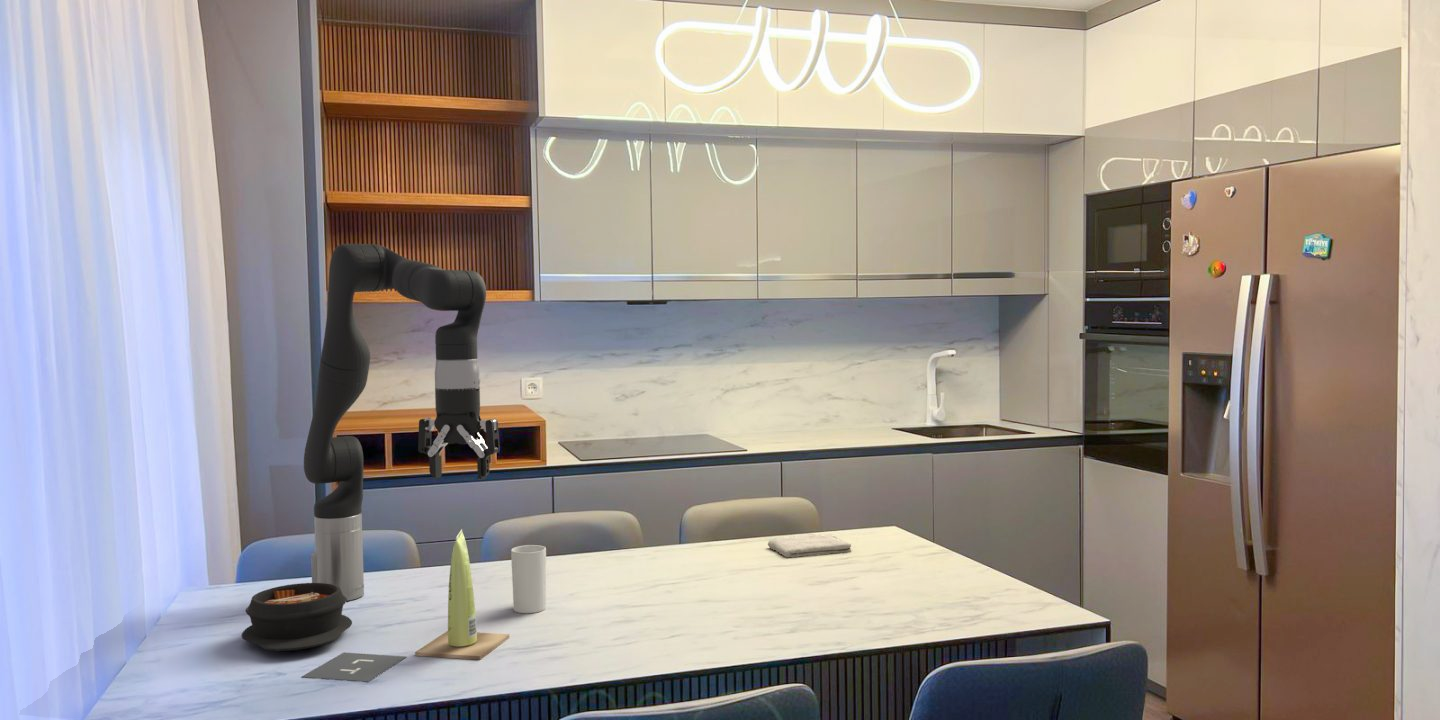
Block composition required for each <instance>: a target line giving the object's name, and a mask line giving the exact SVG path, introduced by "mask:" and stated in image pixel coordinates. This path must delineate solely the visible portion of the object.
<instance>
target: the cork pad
mask: <svg viewBox="0 0 1440 720" xmlns="http://www.w3.org/2000/svg"><path fill="white" fill-rule="evenodd" d="M509 637H511V636H510V634H509V633H494V632H492V633H491V632H477V641H476V642H475V643H474V644H472V645H468V646H463V647H454V646H451V645H449V644H448V630H447V631H445V632H443V634H442V633H441V635H439V636H438V637H436V638H435V639H432V641H430V642H428V643H427V644H426V645H424V646H422V647H421V648H419V649H418V650H416V651H414V656H416V657H417V656H419V657H435V658H447V659H448V658H449V659H464V660H465V659H466V660H477V661H478V660H479V661H480V660H481V659H482V660H483V658H484V657H486V656H487V655H489V654H490V653H491V652H493V651H494V650H495V649H497V647H499V646H500V645H502V644H503V643H504V642H505V640H506V641H507V640H508V639H510V638H509ZM493 649H494V650H493Z"/></svg>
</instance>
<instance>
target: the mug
mask: <svg viewBox="0 0 1440 720" xmlns="http://www.w3.org/2000/svg"><path fill="white" fill-rule="evenodd" d="M510 551H511V552H510V555H511V557H510V558H511V559H510V560H511V578H512V579H511V580H512V581H511V582H512V600H513V601H512V602H513V603H512V604H513V611H514V612H516V613H519V614H535V613H539V612H543V611H544V610H545V609H546V608H547V548H546V546H543V545H540V544H539V545H538V544H537V545H535V544H526V545H525V544H524V545H519V546H515V547H512V548H511V550H510Z"/></svg>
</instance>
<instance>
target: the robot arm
mask: <svg viewBox="0 0 1440 720" xmlns="http://www.w3.org/2000/svg"><path fill="white" fill-rule="evenodd" d="M328 270H329V271H328V284H327V285H328V286H327V287H328V290H327V311H326V321H325V328H324V329H325V330H324V338H323V344H322V349H321V355H320V361H319V368H318V375H317V376H318V377H317V387H316V395H315V401H314V409H313V413H312V419H311V422H310V426H309V430H308V435H307V437H306V438H307V439H306V444H305V446H304V447H305V448H304V453H303V471H304V474H305V478H306V479H307V480H308V482H310V483H311V484H314V485H315V484H316V485H320V484H321V485H323V484H331V483H338V485H337V487H336V488H335V489H334V490H333V491H332V492H330V493H329V494H327V495H326V496H324V497H322V498H320V499H319V500H317V501H315V503H314V505H313V515H314V519H313V520H314V521H313V522H314V546H315V547H314V548H315V549H314V552H311V555H310V558H311V559H310V561H311V562H310V563H311V564H310V565H311V583H326V584H332V585H336V586H338V587H339V588H340V589H341V591H342V594H343V595H344V596H345V597H346V598H347V601H352V600H357V599H359V598H361V597H362V596H364V594H365V584H364V580H365V579H364V550H363V549H364V547H363V545H364V544H363V517H362V511H363V510H362V504H363V497H364V491H363V490H364V452H363V447H362V445H361V442H360V441H359V439H358V438H357V437H355V436H353V435H352V436H351V435H344V436H334V434H335V430H336V429H337V426H338V424H339V422H340V420H341V419H342V418H343V416H344V415H345V414H346V413H347V412H348V410H349V409H350V408H351V407H352V406H353V405H354V403H355V402H357V400H358V399H359V397H360V396H361V395H362V393H363V392H364V390H365V389H366V385H367V382H368V376H369V370H370V363H371V351H370V347H369V346H368V343H367V341H366V339H365V337H364V335H363V334H362V332H361V330H360V328H359V326H358V324H357V322H356V319H355V317H354V311H353V308H354V307H353V306H354V305H353V304H354V296H355V293H366V292H367V293H368V292H370V293H371V292H373V293H374V292H378V291H384V290H396V292H397V293H398V294H399V295H401V296H402V297H404V298H406V299H408V300H411V301H416V302H419V303H422V304H423V305H424V306H426V308H428V309H430V310H434V311H440V312H441V311H442V312H450V311H451V312H453V311H455V312H457V314H456V316H455V319H454V320H453V322H451V323H449V324H445V325H442V326H439V327H438V328H437V329H436V331H435V365H434V366H435V369H434V398H435V400H434V401H435V402H434V404H435V412H436V417H435V419H432V418H431V417H425V418H424V417H423V418H421V419H419V420H418V439H417V440H418V442H417V443H418V446H417V450H418V452H419V453H420V454H425V455H427V456H428V460H429V461H428V463H429V465H428V466H429V470H428V471H429V474H430V475H431V477H432V479H439V478H442V475H443V467H442V465H443V464H442V462H443V461H442V455H440V454H441V453H442V451H444V449H445V447H446V446H447V445H454V444H458V445H466V444H467V445H468V446H469V447H470V448H471V449H472V450H473V451H474V452H475V453H476V455H477V456H478V457H477V459H476V461H477V462H476V465H477V468H476V469H477V473H476V474H477V480H481V481H482V480H485V479H486V478H487V476H489V474H490V456H493V455H495V454H497V453H500V450H501V445H500V433H499V431H500V429H499V421H498V419H496V418H491V419H482V417H481V415H480V414H481V413H480V412H481V393H480V392H481V390H480V389H481V388H480V387H481V386H480V385H481V378H480V369H479V368H480V367H479V364H478V363H479V361H478V333H479V329H480V324H481V321H482V320H481V319H482V316H483V313H484V308H485V304H486V300H487V287H486V283H485V281H484V279H483V276H481V274H479V273H478V272H477V271H475V270H467V269H466V270H465V269H463V270H461V269H443V268H442V267H439V266H438V265H435V264H431V263H428V262H427V263H426V262H423V261H417V260H413V259H409V258H406V257H404V256H402V255H400V254H399V253H397V252H395V251H393V250H392V249H390V248H387V247H386V246H384V245H381V244H374V243H342V244H339V245H337V246H336V247H335V248H334V249H333V252H332V254H331V258H330V263H329V269H328ZM435 428H436V431H437V432H438V435H437V436H436V438H435V439H434V440H433V442H432V435H433V434H432V432H433V431H434V429H435ZM481 428H482V430H483V431H484V432H485V435H486V443H485V439H484V438H483V436H482V435H481V434H480V430H481ZM347 601H346V602H347Z"/></svg>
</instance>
